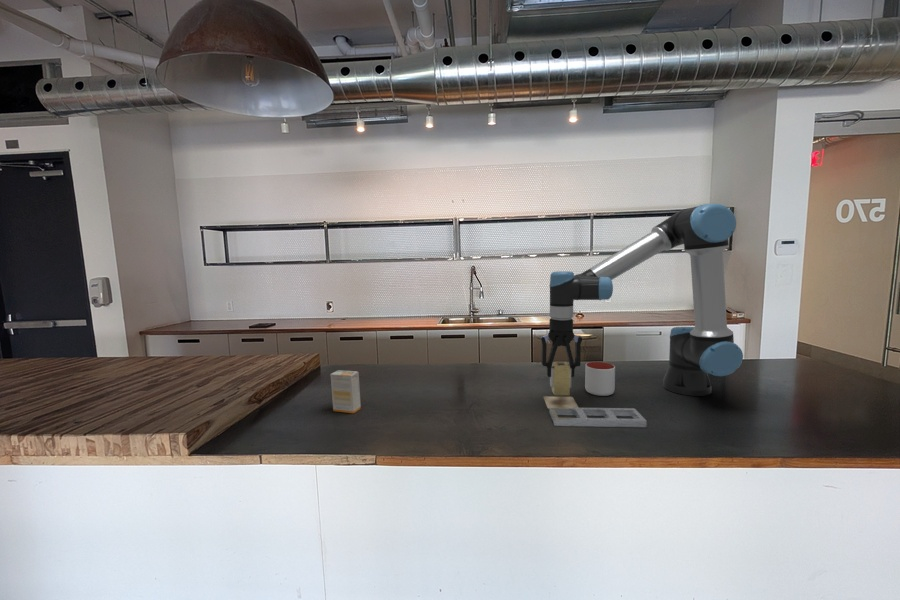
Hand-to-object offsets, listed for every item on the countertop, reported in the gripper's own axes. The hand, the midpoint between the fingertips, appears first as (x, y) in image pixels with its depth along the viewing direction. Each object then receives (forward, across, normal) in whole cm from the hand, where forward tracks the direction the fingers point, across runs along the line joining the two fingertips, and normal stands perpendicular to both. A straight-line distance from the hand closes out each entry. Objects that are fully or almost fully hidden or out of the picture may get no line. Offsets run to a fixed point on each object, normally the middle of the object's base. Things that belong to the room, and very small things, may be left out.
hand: (560, 385), depth 128 cm
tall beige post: (+2, 0, 0) cm, 2 cm away
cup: (+6, -16, -11) cm, 20 cm away
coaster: (+6, 0, 0) cm, 6 cm away
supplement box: (+7, +72, +8) cm, 73 cm away
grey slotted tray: (+6, -8, +13) cm, 16 cm away
